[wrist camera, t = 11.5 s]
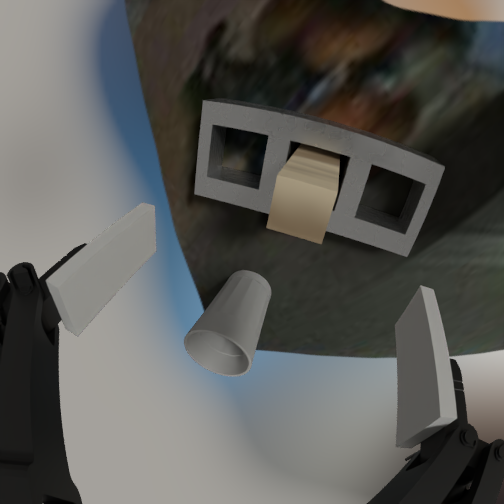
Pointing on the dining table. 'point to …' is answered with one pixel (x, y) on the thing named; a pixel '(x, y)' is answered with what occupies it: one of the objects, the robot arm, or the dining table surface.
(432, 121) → the dining table surface
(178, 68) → the dining table surface
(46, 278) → the robot arm
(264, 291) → the cup
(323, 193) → the peg
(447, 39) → the dining table surface
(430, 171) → the grey slotted block
